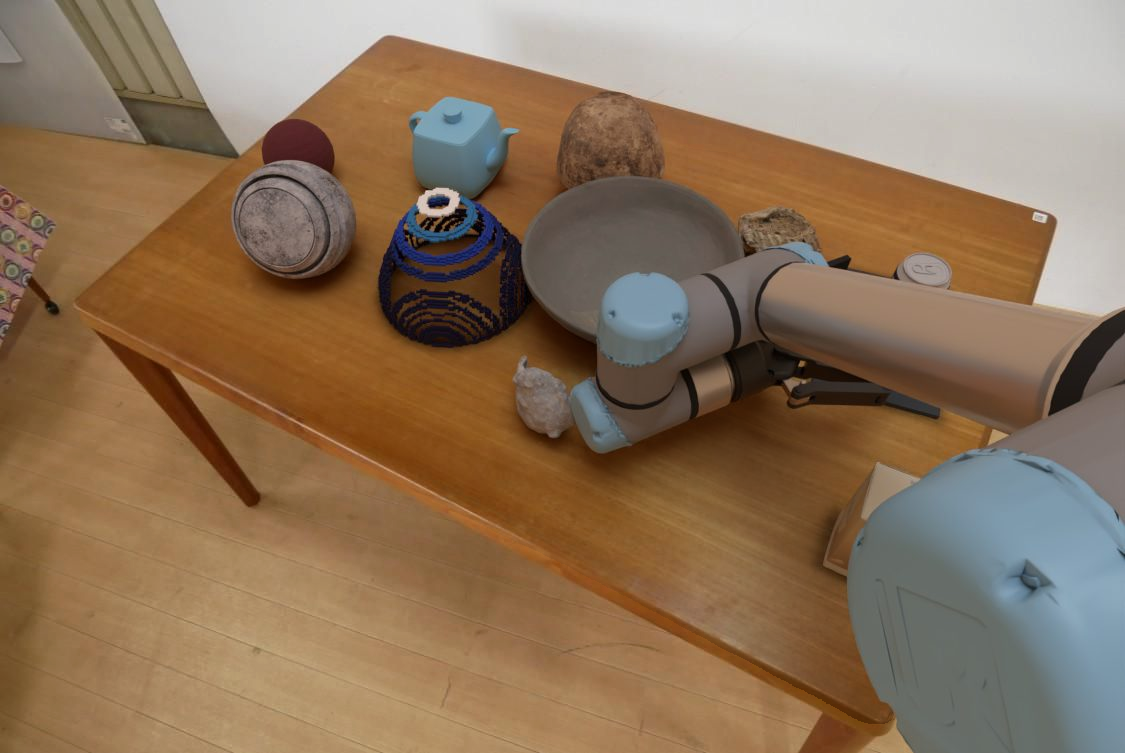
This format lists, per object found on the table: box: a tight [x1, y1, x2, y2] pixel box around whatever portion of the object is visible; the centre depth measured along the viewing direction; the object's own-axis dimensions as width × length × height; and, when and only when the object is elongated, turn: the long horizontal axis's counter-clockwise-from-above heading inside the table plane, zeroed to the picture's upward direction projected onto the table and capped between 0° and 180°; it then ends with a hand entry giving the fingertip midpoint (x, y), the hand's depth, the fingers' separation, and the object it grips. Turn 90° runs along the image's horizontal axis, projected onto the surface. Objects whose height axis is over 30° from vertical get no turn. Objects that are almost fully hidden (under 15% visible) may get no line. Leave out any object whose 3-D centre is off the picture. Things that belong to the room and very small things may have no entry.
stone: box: [512, 354, 576, 439], centre depth 75 cm, size 9×7×10 cm
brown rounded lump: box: [555, 90, 666, 190], centre depth 96 cm, size 15×16×15 cm
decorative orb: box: [230, 160, 357, 280], centre depth 90 cm, size 15×14×15 cm
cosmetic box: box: [822, 461, 922, 578], centre depth 64 cm, size 6×4×12 cm
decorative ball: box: [261, 118, 336, 175], centre depth 101 cm, size 10×10×10 cm
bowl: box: [521, 176, 746, 345], centre depth 85 cm, size 26×26×10 cm
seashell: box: [737, 205, 823, 256], centre depth 91 cm, size 11×7×10 cm
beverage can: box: [890, 252, 953, 290], centre depth 79 cm, size 6×6×12 cm
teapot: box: [408, 96, 520, 200], centre depth 100 cm, size 12×18×12 cm
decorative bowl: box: [377, 188, 533, 349], centre depth 86 cm, size 20×20×14 cm
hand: (884, 305), depth 76 cm, fingers open, 13 cm apart
